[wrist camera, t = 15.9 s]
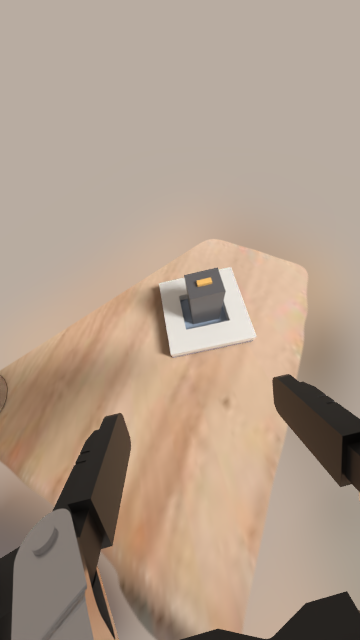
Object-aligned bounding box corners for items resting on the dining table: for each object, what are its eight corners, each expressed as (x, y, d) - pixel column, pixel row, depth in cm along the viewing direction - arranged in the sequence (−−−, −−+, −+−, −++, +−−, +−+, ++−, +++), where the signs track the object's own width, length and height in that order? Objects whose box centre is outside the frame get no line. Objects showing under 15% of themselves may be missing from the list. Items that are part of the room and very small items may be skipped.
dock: (173, 357, 29) (170, 355, 27) (161, 290, 34) (158, 283, 32) (252, 341, 29) (256, 336, 26) (228, 275, 33) (230, 266, 31)
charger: (193, 324, 30) (189, 297, 21) (188, 305, 31) (183, 273, 22) (219, 318, 30) (226, 289, 21) (213, 300, 31) (217, 265, 22)
